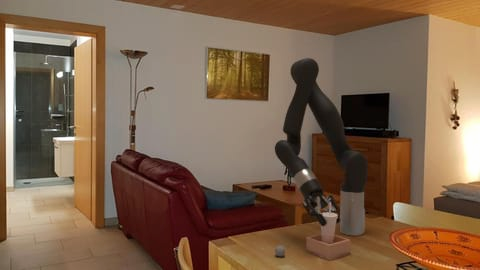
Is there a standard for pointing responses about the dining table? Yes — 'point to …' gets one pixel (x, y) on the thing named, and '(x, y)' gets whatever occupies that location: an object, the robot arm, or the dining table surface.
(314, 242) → the pink square tray
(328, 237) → the smoothie
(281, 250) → the ball
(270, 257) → the dining table surface
